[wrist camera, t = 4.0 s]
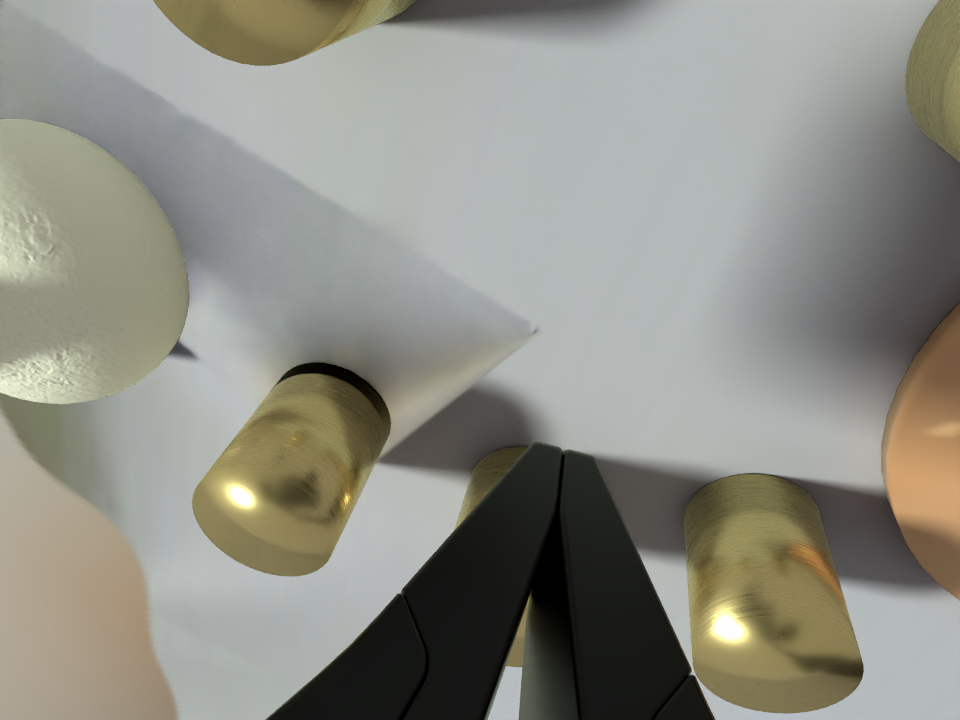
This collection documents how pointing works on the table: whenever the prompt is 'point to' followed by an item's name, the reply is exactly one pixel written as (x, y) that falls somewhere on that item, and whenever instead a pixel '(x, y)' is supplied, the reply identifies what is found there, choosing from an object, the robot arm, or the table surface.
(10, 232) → the cream white mushroom
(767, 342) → the table surface
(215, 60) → the table surface
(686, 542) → the spacer field
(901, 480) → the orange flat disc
